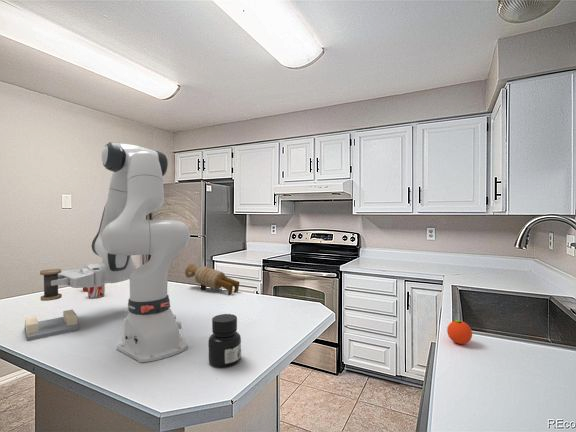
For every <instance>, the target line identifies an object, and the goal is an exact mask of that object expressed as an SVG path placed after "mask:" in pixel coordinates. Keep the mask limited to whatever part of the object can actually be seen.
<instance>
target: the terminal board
mask: <svg viewBox="0 0 576 432" xmlns="http://www.w3.org/2000/svg"><path fill="white" fill-rule="evenodd" d="M24 321H25V322H24V323H25V324H24V329H25V335H26V339H27V341H33V340H37V339H38V340H39V339H42V338H47V337H53V336H57V335H62V334H65V333H70V332H74V331H75V332H76V331H80V326H79V324H78V315H77V313H76V312H75V311H74V309H73V308H72V309H67V310H63V311H62V316H61V317H60V316H59V317H54V318H50V319H44V320H40V321H38V317H37V315H35V316H29V317H24Z"/></svg>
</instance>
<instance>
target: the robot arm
mask: <svg viewBox="0 0 576 432" xmlns="http://www.w3.org/2000/svg"><path fill="white" fill-rule="evenodd" d="M101 161H102V165H103V167H104V168H105V169H106V170H108V171H110V172H112V174H111V178H110V182H109V187H108V194H107V199H106V203H105V204H104V205H105V206H104V208H103V211H102V216H101V220H100V222H99V223H100V224H99V227H98V231H97V233H96V235H95V236H94V238H93V240H92V242H91V250H92V252H93V253H94V254H95V255H97V256H98V257H100V258H101V260H102V261H101V262H99V263H91V264H85V265H84V266H83V267H82V268H80V269H68V270H61V273H58V280H51V281H50V285H52V286H54V285H58V286H68V287H70V288H73V289H81V288H82V289H83V288H84V287H87V288H89V287H100V286H101V285H104V284H105V285H106V284H116V283H122V282H124V281H128V280H129V298H128V300H127V307H128V308H127V310H128V314H127V315H126V317H124V319H123V323H122V339H121V341H122V342H120V343H118V344H117V346H116V350H117V351H119V352H121V353H123V354H125V355H127V357H130V358H132V359H134V360H136V361H137V362H139V363H148V362H153V361H159V360H161V359H165V358H169V357H171V356H175V355H177V354H180V353H182V352H184V351H185V350H187V349H188V347H189V346H188V343H187V341H186V339H184V337H183V336H182V334H181V333H180V330H181V329H183V328H182V322H181V321H176V320H177V315H174V314H173V312H172V309H171V301H170V298H169V297H170V295H169V294H168V279H169V272H170V268H171V265H172V263H174V260H175V258H177V257H178V255H179V254H181V252H183V251H184V250H185V249H186V248H187V246H188V245H189V243H190V240H191V233H190V229H189V227H188V225H187V224H186V223H184V222H183V221H180V220H173V219H146V216H147V215H150V214H151V213H153V212H156V211H158V210H159V209H160V208H162V206H163V205H164V203H165V192H164V191H165V190H164V189H165V188H164V179H163V177H164V176H166V173H167V171H168V166H169V163H168V158H167V156H166V154H165V153H163V152H161V151H159V150H153V149H150V148H146V147H142V146H140V145H136V144H130V143H121V142H119V141H109V142H108V143H106V144H105V146H104V148H103V149H102V152H101ZM139 255H140V256H141V255H143V256H144V255H150V259H149V260H148V261H147V262H146V263H144V264H142V265H140V266H138V267H136V266H137V265H136V263H135V261H134V260H133V258H132V256H139Z"/></svg>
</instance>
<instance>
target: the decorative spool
mask: <svg viewBox="0 0 576 432" xmlns="http://www.w3.org/2000/svg"><path fill="white" fill-rule="evenodd" d="M184 270H185V271H184V274H185V275H184V276H185V277H186V278H193V277H194V280H195V282H196V283H197V284H200V286H199V287H200V290H201V291H204V290H207V288H210V290H214V291H218V290H220V289H222V288H224V289H226V290H227V295H228V296H230V295H233V292H234V293H239V286H240V281H239V280H236V279H234V278H233V279H232V278H230V277H227V276H226V274H225V273H224V272H223V271H220V270H216V269H214V268H212V267H211V268H210V267H208V266H205V265H203V266H200V267H199V268H197V266H196V265H195V263H190V264H188V265H187V266H186V269H184ZM233 289H234V290H233Z"/></svg>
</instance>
